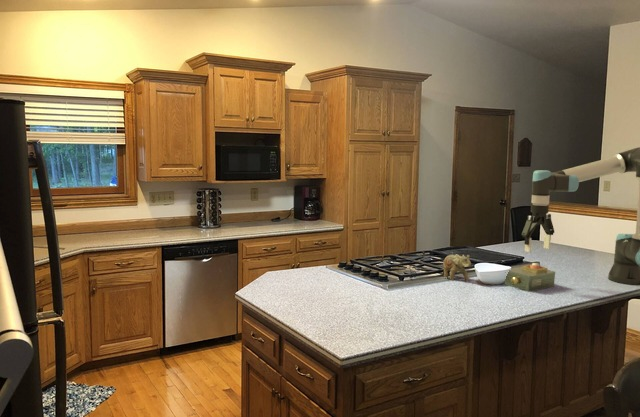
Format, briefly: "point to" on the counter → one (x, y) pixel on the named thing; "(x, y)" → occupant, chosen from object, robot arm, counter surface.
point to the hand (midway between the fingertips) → (537, 250)
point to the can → (535, 266)
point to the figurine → (456, 265)
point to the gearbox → (530, 278)
